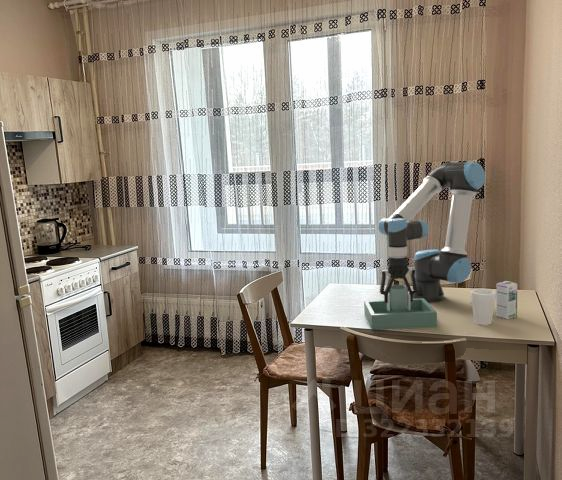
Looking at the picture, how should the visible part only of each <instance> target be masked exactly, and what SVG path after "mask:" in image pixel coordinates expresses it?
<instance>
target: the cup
mask: <svg viewBox="0 0 562 480" xmlns="http://www.w3.org/2000/svg"><path fill="white" fill-rule="evenodd" d="M408 293H409V291H408V287H406V285H405V284H392V286H391V288H390V291H389V293H388V294H389V296H390V307H391V309H392V310H394V311H404V310H405V309H406V308H407V305H408Z"/></svg>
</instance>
